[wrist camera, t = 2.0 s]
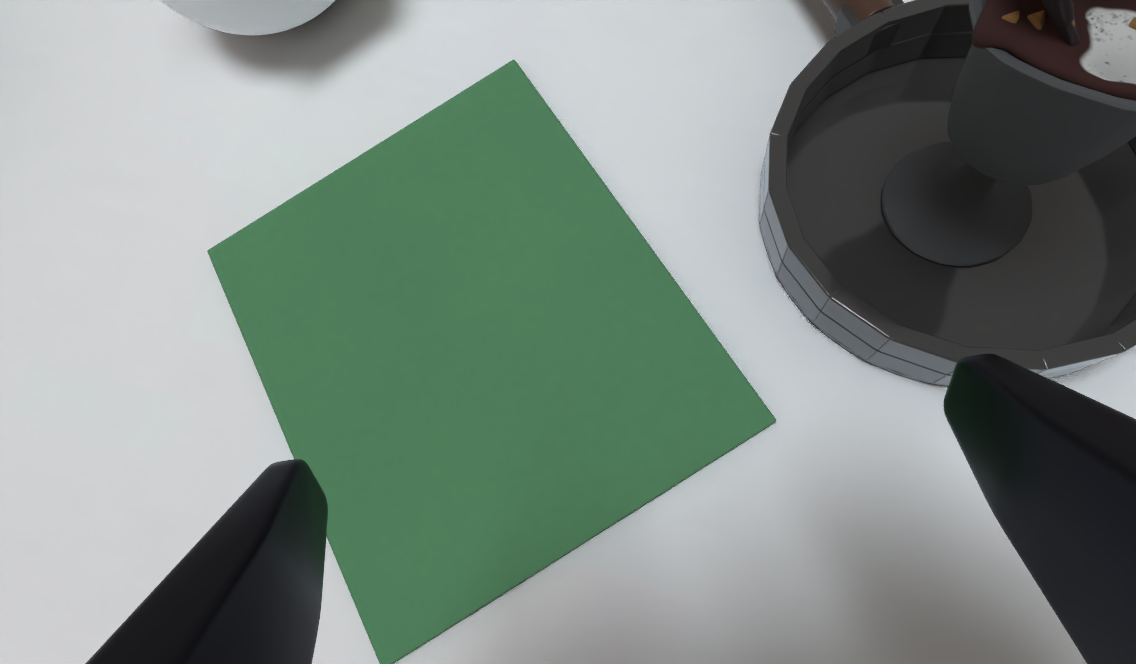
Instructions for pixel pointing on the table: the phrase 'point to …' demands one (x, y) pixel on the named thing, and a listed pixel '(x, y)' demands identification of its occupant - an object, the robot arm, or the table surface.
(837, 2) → the skillet handle
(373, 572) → the cloth
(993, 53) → the sundae
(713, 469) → the table surface
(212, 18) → the piggy bank
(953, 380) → the robot arm
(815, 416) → the table surface
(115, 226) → the table surface
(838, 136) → the skillet
